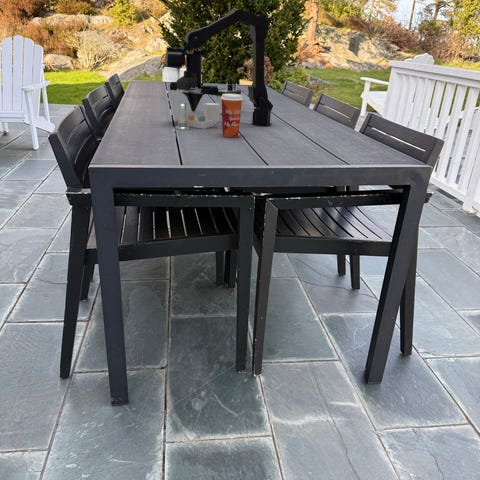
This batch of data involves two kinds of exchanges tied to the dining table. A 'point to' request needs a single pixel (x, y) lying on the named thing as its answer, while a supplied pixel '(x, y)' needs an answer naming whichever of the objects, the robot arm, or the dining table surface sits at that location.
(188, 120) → the panel
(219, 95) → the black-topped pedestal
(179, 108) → the post
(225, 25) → the robot arm
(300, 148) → the dining table surface
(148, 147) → the dining table surface
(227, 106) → the paper cup
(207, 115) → the grey cylinder
